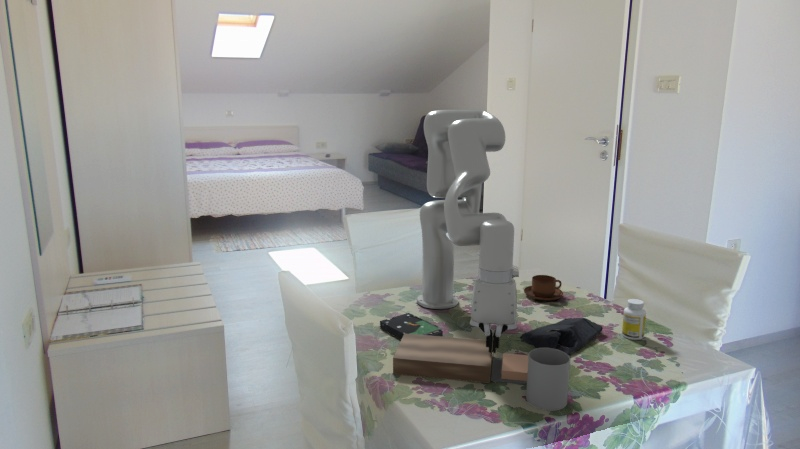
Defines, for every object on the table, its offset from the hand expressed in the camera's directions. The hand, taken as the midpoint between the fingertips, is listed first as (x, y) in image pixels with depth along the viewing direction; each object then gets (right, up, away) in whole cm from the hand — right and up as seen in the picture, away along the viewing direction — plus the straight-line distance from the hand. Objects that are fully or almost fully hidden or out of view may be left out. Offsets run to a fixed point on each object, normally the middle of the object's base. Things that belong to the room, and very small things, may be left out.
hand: (492, 350), depth 136 cm
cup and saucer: (+24, +6, +49) cm, 55 cm away
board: (-11, -4, +3) cm, 12 cm away
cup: (+9, -8, -13) cm, 18 cm away
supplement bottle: (+40, -1, +19) cm, 45 cm away
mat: (+6, -5, -1) cm, 8 cm away
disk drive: (-18, -1, +22) cm, 29 cm away
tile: (+5, -3, -1) cm, 6 cm away
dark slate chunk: (+22, -1, +19) cm, 29 cm away
